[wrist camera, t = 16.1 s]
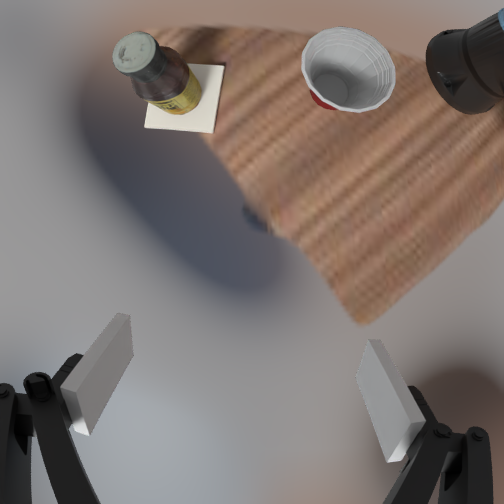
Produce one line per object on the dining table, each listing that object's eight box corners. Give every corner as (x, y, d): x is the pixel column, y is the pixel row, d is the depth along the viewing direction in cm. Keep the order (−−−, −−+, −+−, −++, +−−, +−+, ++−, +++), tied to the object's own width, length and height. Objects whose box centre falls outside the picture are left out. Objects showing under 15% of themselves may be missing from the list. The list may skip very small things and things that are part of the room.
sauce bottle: (152, 103, 40) (82, 66, 21) (178, 68, 39) (124, 9, 20) (188, 126, 41) (133, 96, 22) (214, 90, 40) (180, 35, 21)
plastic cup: (300, 48, 39) (313, 12, 27) (369, 71, 40) (402, 45, 28) (282, 113, 42) (291, 93, 30) (354, 136, 42) (386, 126, 31)
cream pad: (224, 68, 40) (223, 66, 39) (213, 133, 42) (212, 132, 41) (158, 64, 40) (156, 62, 39) (146, 128, 42) (144, 127, 41)
